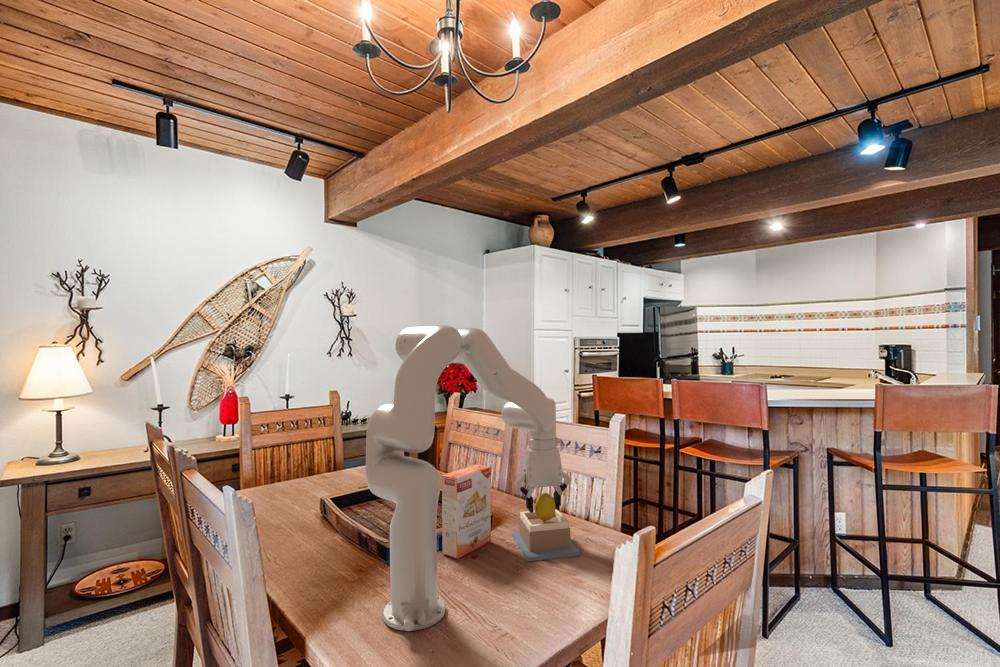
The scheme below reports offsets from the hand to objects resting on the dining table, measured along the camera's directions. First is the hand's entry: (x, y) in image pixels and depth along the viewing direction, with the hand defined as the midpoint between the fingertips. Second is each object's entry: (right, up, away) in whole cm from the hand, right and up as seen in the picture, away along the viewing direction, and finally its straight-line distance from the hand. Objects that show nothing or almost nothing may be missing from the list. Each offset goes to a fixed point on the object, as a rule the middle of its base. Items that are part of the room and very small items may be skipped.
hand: (543, 509), depth 134 cm
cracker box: (-20, -10, -1) cm, 23 cm away
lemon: (0, -4, 0) cm, 4 cm away
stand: (0, -10, 0) cm, 10 cm away
